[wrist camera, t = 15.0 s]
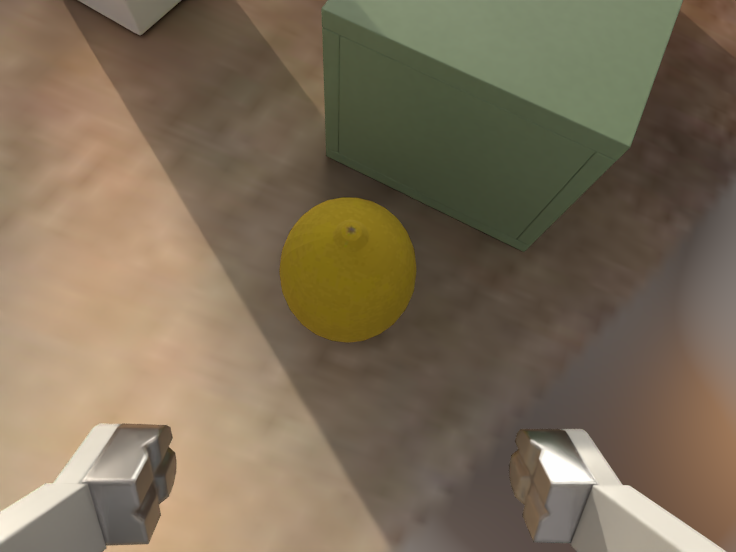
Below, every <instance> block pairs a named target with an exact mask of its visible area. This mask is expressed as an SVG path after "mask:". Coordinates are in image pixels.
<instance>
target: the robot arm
mask: <svg viewBox="0 0 736 552" xmlns="http://www.w3.org/2000/svg"><path fill="white" fill-rule="evenodd" d="M172 438H173V437H172V433H171V428H170V427H169V426H167V425H147V424H106V423H99V424H98V425H96V426H95V427H93V428H92V430H91V431H90V432H89V434H88V435H87V437H86V438H85V439H84V441H83V442H82V443H81V445H80V446H79V448H78V449H77V450H76V452H75V453H74V455H73V456H72V457H71V459H70V460H69V461H68V463H67V464H66V466H65V467H64V468H63V470H62V471H61V473H60V474H59V475H58V477H57V478H56V479H55V481H54V482H53V483H45V484H44V485H42V486H40V487H39V488H37V489H36V490H34V491H32V492H31V493H29V494H28V495H26V496H24V497H23V498H21V499H20V500H18V501H16V502H15V503H13V504H12V505H10V506H8V507H7V508H5V509H4V510H2V511H0V552H103V551H104V550H105V549H106V545H133V544H149V542H150V539H151V537H152V535H153V532H154V530H155V528H156V525H157V523H158V521H159V518H160V516H161V513H160V508H159V504H160V503H161V502H163V501H164V500H165V499H166V498H167V497H169V494H170V492H171V489H172V487H173V484H174V479H175V474H176V455H175V452H174V451H173V450H172V449H171V448H169V445H170V443H171V441H172ZM515 443H516V445H517V447H518V450H517V451H516V452H515V453H513V454H512V455H511V459H510V464H509V478H510V483H511V487H512V490H513V492H514V495H515V497H516V498H517V499H518V500H519V501H520V502H521V503H523V504H524V505H525V506H524V510H523V514H522V515H523V518H524V520H525V523H526V525H527V528H528V530H529V533H530V535H531V538H532V540H533V542H547V543H548V542H549V543H571V546H572V547H573V548H574V549H575V550H576V551H577V552H727V551H725V550H724V549H722V548H721V547H719V546H718V545H716V544H715V543H713V542H712V541H710V540H709V539H707V538H706V537H704V536H703V535H701V534H700V533H699V532H697V531H696V530H694V529H693V528H691V527H690V526H688V525H687V524H685V523H684V522H682V521H681V520H679V519H678V518H676V517H675V516H674V515H672V514H671V513H669V512H668V511H666V510H665V509H663V508H662V507H660V506H659V505H657V504H656V503H654V502H653V501H651V500H650V499H649V498H647V497H646V496H644V495H643V494H641V493H640V492H638V491H637V490H635V489H634V488H632V487H631V486H628V485H622V483H621V482H620V480H619V479H618V477H617V476H616V474H615V473H614V471H613V470H612V468H611V467H610V466H609V464H608V462H607V461H606V460H605V458H604V457H603V455H602V454H601V452H600V451H599V449H598V448H597V446H596V445H595V444H594V442H593V441H592V439H591V437H590V436H589V435H588V433H587V432H586V431H584V430H583V429H561V430H560V429H520V430H519V432H518V433H517V436H516V439H515Z"/></svg>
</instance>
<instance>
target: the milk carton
mask: <svg viewBox="0 0 736 552" xmlns="http://www.w3.org/2000/svg"><path fill="white" fill-rule="evenodd" d="M78 1H80V2H82V3H83V4H85V5H87V6H89V7H90V8H92V9H94V10H96V11H97V12H99V13H101V14H103V15H104V16H106V17H108V18H110V19H111V20H113V21H115V22H117V23H118V24H120V25H122V26H124V27H125V28H127V29H129V30H131V31H133V32H134V33H136V34H138V35H142V34H143V33H144V32H146V31H147V30H148V29H149V28H150V27H151V26H152V25H154V24H155V23H156V22H157V21H158V20H159V19H161V18H162V17H163V16H164V15H165V14H166V13H167V12H169V11H170V10H171V9H172V8H173V7H174V6H175V5H177V4H178V3H179V2H180V1H181V0H78Z"/></svg>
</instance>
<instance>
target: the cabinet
mask: <svg viewBox="0 0 736 552" xmlns="http://www.w3.org/2000/svg"><path fill="white" fill-rule="evenodd" d="M682 2H683V0H328V1H327V2H326V4H325V5H324V6H323V7H322V9H321V10H322V27H323V28H322V33H323V65H324V97H325V129H326V156H328V157H330V158H332V159H334V160H336V161H338V162H340V163H342V164H344V165H346V166H348V167H350V168H352V169H354V170H356V171H358V172H360V173H363V174H365V175H367V176H369V177H371V178H373V179H375V180H377V181H379V182H381V183H383V184H385V185H387V186H389V187H391V188H393V189H395V190H397V191H400V192H402V193H404V194H406V195H408V196H410V197H412V198H414V199H416V200H418V201H420V202H422V203H424V204H426V205H428V206H430V207H432V208H434V209H437V210H439V211H441V212H443V213H445V214H447V215H449V216H451V217H453V218H455V219H457V220H459V221H461V222H463V223H465V224H467V225H469V226H471V227H474V228H476V229H478V230H480V231H482V232H484V233H486V234H488V235H490V236H492V237H494V238H496V239H498V240H500V241H502V242H504V243H506V244H508V245H511V246H513V247H515V248H517V249H519V250H521V251H523V252H525V251H526V250H527V249H528V248H529V247H530V245H532V244H533V243H534V242H535V241H536V240H537V239H538V238H539V237H540V236H541V235H542V234H543V233H544V232H545V231H546V230H547V229H548V228H549V227H550V226H551V225H552V224H553V223H554V222H555V221H556V220H557V219H558V218H559V217H560V216H561V215H562V214H563V213H564V212H565V211H566V210H567V209H568V208H569V207H570V206H571V205H572V204H573V203H574V202H575V201H576V200H577V199H578V198H579V197H580V196H581V195H582V194H583V193H584V192H585V191H586V190H587V189H588V188H589V187H590V186H591V185H592V184H593V183H594V182H595V181H596V180H597V179H598V178H599V177H600V176H601V175H602V174H603V173H604V172H605V171H606V170H607V169H608V168H609V167H610V166H611V165H612V164H613V163H614V162H616V160H618V159H619V158H620V157H621V156H622V155H623V154H624V153H625V152H626V151H627V150H628V149H629V148H630V147H631V144H632V141H633V139H634V136H635V133H636V130H637V127H638V125H639V122H640V119H641V116H642V113H643V111H644V108H645V105H646V102H647V100H648V97H649V94H650V91H651V88H652V86H653V83H654V80H655V77H656V74H657V72H658V69H659V66H660V63H661V60H662V58H663V55H664V52H665V49H666V46H667V44H668V41H669V38H670V35H671V32H672V30H673V27H674V24H675V21H676V19H677V16H678V13H679V10H680V7H681V5H682Z"/></svg>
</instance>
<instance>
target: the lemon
mask: <svg viewBox="0 0 736 552" xmlns="http://www.w3.org/2000/svg"><path fill="white" fill-rule="evenodd" d="M415 278H416V260H415V252H414V248H413V245H412V243H411V240H410V238H409V235H408V233H407V231H406V230H405V228H404V227H403V226H402V224H401V223H400V222H399V220H398V219H397V218H396V217H395V216H394V215H393V214H392V213H391V212H389V211H388V210H387V209H386V208H384V207H382V206H380V205H378V204H376V203H374V202H372V201H369V200H364V199H360V198H346V197H342V198H337V199H332V200H327V201H325V202H323V203H321V204H319V205H316V206H314V207H313V208H312V209H310V210H309V211H308V212H307V213H305V214H304V215H303V216H302V217H301V218H300V219H299V220H298V221H297V223H296V224H295V225H294V227H293V228H292V229H291V231H290V232H289V235H288V237H287V240H286V242H285V244H284V247H283V250H282V255H281V263H280V280H281V287H282V292H283V295H284V297H285V299H286V301H287V304H288V306H289V308H290V310H291V311H292V313H293V314H294V315H295V316H296V318H297V319H298V320H299V321H300V322H301V324H302V325H304V326H305V327H306V328H308V329H309V330H310V331H312V332H313V333H315V334H316V335H318V336H321V337H324V338H326V339H329V340H331V341H339V342H347V343H348V342H356V341H364V340H366V339H369V338H371V337H374V336H376V335H379V334H381V333H382V332H383V331H385V330H386V329H388V328H389V327H390V326H392V325H393V324H394V323H395V322H396V321H397V319H398V318H399V317H400V316H401V314H402V313H403V312H404V311H405V309H406V308H407V305H408V303H409V301H410V298H411V296H412V294H413V291H414V285H415Z"/></svg>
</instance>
